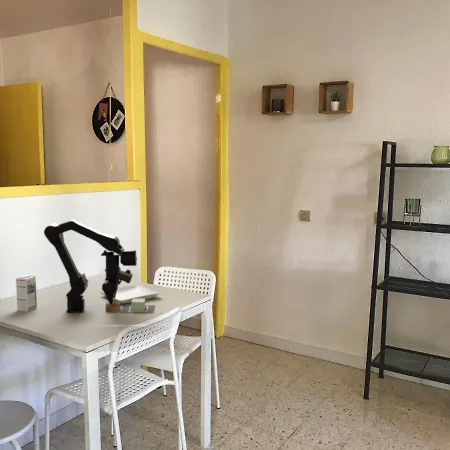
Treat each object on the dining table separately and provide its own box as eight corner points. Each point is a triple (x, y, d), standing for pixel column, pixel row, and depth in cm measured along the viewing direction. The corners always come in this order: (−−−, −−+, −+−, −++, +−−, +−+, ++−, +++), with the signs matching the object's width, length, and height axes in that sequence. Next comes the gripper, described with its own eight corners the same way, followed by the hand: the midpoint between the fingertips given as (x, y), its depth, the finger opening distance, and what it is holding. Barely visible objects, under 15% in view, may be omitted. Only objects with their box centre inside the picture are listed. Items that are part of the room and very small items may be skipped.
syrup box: (27, 312, 206) (26, 278, 205) (16, 310, 208) (15, 277, 207) (37, 308, 212) (36, 276, 210) (26, 306, 214) (25, 274, 212)
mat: (120, 314, 206) (120, 313, 206) (123, 306, 218) (123, 305, 218) (153, 314, 207) (153, 313, 207) (155, 306, 219) (155, 305, 219)
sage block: (131, 311, 209) (131, 302, 209) (132, 307, 215) (132, 298, 214) (144, 311, 210) (144, 302, 209) (145, 307, 215) (145, 298, 215)
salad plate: (98, 297, 233) (98, 290, 232) (137, 290, 247) (137, 283, 246) (120, 307, 217) (120, 300, 216) (160, 299, 231) (160, 292, 230)
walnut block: (105, 312, 208) (105, 303, 208) (107, 308, 214) (107, 300, 213) (118, 312, 209) (118, 303, 209) (120, 308, 215) (120, 300, 214)
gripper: (129, 270, 200) (129, 307, 202) (133, 261, 219) (133, 295, 221) (101, 270, 199) (101, 307, 201) (108, 261, 218) (108, 295, 220)
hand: (112, 300), depth 211 cm, fingers open, 9 cm apart
